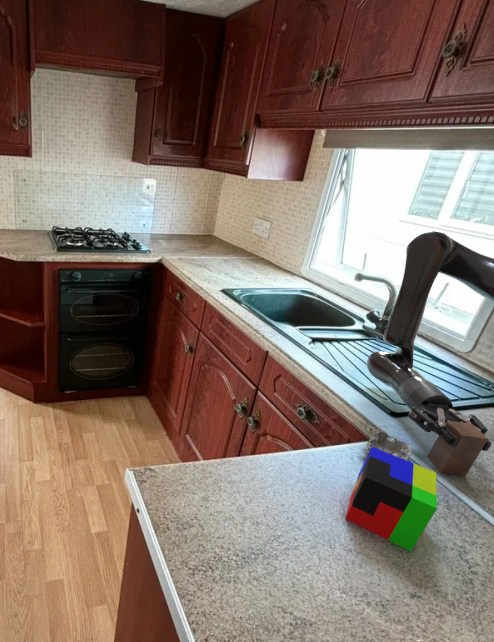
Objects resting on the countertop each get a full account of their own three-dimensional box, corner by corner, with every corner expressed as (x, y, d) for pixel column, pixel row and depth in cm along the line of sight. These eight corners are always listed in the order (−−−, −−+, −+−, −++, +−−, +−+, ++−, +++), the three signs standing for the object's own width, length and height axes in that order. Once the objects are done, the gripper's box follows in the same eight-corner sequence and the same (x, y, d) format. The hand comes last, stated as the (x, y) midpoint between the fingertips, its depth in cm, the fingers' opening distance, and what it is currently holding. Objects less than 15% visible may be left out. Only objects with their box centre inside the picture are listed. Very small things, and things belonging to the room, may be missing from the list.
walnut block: (450, 459, 89) (471, 423, 85) (465, 476, 85) (488, 439, 80) (426, 456, 90) (447, 420, 85) (440, 472, 85) (462, 435, 81)
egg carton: (371, 438, 94) (378, 424, 92) (408, 456, 89) (416, 441, 87) (358, 459, 86) (365, 444, 85) (397, 479, 82) (406, 464, 80)
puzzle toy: (353, 486, 79) (371, 446, 75) (412, 513, 74) (436, 472, 70) (345, 519, 72) (365, 477, 67) (410, 551, 67) (437, 508, 62)
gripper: (398, 381, 95) (443, 425, 80) (461, 389, 94) (518, 435, 79) (386, 407, 98) (427, 454, 83) (447, 415, 98) (499, 464, 83)
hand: (471, 445), depth 81 cm, fingers open, 5 cm apart
